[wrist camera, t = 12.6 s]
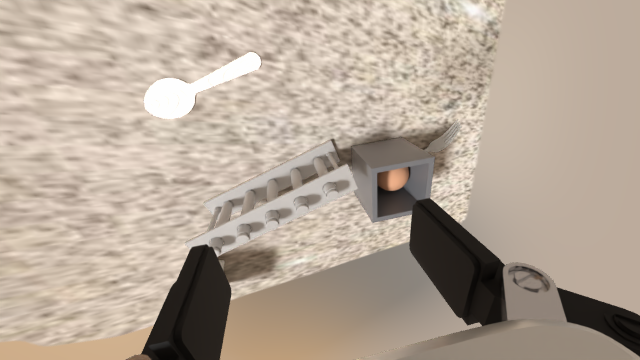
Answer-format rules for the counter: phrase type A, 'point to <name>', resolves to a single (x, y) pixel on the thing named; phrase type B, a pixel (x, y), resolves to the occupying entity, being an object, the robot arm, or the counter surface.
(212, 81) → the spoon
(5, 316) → the counter surface
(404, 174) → the ball
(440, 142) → the fork
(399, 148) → the grey open square box
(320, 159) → the test tube rack
